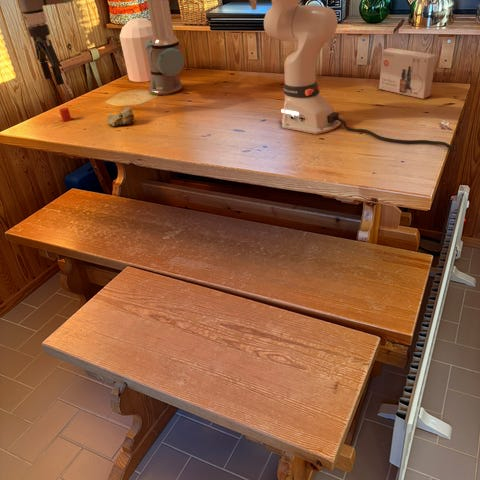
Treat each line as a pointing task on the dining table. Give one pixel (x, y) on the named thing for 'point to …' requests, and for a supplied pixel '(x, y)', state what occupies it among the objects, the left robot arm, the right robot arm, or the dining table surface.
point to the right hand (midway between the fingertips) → (253, 7)
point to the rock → (121, 118)
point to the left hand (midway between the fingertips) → (54, 81)
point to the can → (65, 114)
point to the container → (136, 48)
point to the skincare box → (407, 72)
